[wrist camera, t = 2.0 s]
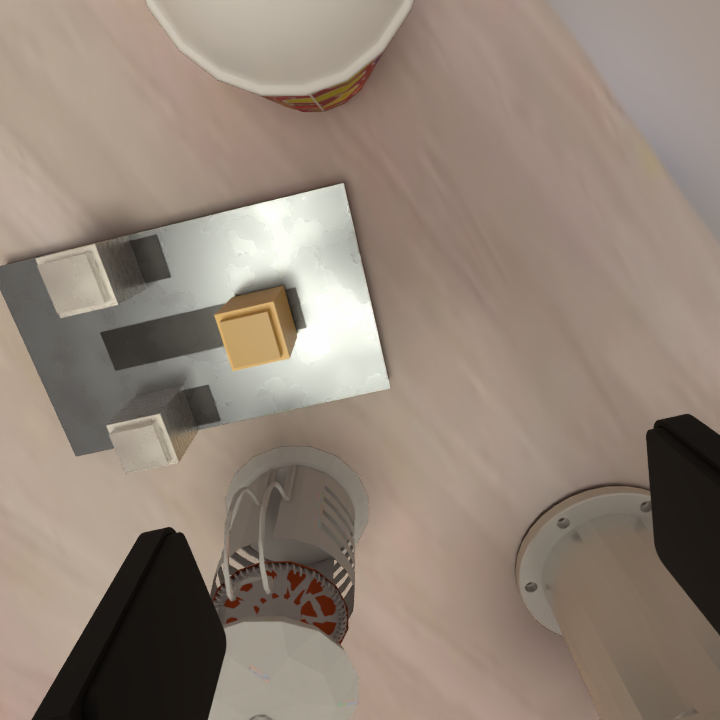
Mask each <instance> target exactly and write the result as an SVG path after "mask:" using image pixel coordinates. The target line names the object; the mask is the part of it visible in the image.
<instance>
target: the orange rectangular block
mask: <svg viewBox="0 0 720 720" xmlns="http://www.w3.org/2000/svg"><path fill="white" fill-rule="evenodd" d="M214 316H215V319H216V322H217V325H218V328H219V331H220V334H221V337H222V341H223V344H224V347H225V350H226V353H227V356H228V359H229V362H230V365H231V368H232V371H236V370H240V369H245V368H249V367H254V366H258V365H263V364H267V363H272V362H276V361H281V360H285V359H290V357H291V354H292V351H293V348H294V345H295V342H296V339H297V332H296V328H295V325H294V321H293V318H292V314H291V310H290V307H289V303H288V300H287V296H286V292H285V289H284V285H283V286H279V287H274V288H270V289H266V290H262V291H257V292H253V293H249V294H244V295H240V296H236V297H232V298H231V299H230V300H229V301H228V302H227V303H226V304H225V305H224V306H223V307H222V308H221V309H220V310H219V311H218V312H217V313H216V314H215V315H214Z"/></svg>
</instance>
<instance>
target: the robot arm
mask: <svg viewBox="0 0 720 720" xmlns="http://www.w3.org/2000/svg"><path fill="white" fill-rule="evenodd" d="M646 441H647V455H648V468H649V482H650V491H648V490H645V489H642V488H635V487H628V486H610V487H602V488H597V489H592V490H588V491H585V492H582V493H579V494H577V495H574V496H571V497H569V498H568V499H566V500H564V501H562V502H560V503H559V504H557V505H555V506H554V507H553V508H551V509H550V510H549V511H548V512H546V513H545V514H544V515H543V516H541V517H540V519H539V520H538V521H537V522H536V523H535V524H534V525H533V526H532V528H531V529H530V530H529V532H528V534H527V535H526V537H525V538H524V540H523V542H522V544H521V547H520V550H519V553H518V555H517V562H516V569H515V571H516V580H517V585H518V588H519V591H520V594H521V597H522V599H523V601H524V603H525V605H526V607H527V609H528V611H529V612H530V613H531V614H532V616H533V617H534V618H535V619H536V620H537V621H538V622H539V623H541V624H542V625H543V626H544V627H546V628H547V629H549V630H551V631H553V632H555V633H557V634H559V635H561V636H563V637H564V639H565V641H566V643H567V645H568V648H569V650H570V652H571V654H572V656H573V659H574V661H575V663H576V665H577V667H578V670H579V672H580V674H581V676H582V678H583V681H584V683H585V685H586V687H587V689H588V692H589V694H590V696H591V698H592V700H593V703H594V705H595V707H596V709H597V711H598V714H599V716H600V718H601V720H720V435H719V434H717V433H716V432H715V431H713V430H712V429H710V428H709V427H708V426H706V425H705V424H703V423H702V422H701V421H699V420H698V419H696V418H695V417H694V416H692V415H690V414H684V415H679V416H675V417H670V418H666V419H661V420H657V421H656V422H655V424H654V429H651V430H648V431H647V434H646ZM226 645H227V642H226V634H225V631H224V628H223V626H222V623H221V621H220V619H219V616H218V614H217V611H216V609H215V607H214V604H213V602H212V599H211V597H210V595H209V592H208V590H207V587H206V585H205V583H204V580H203V578H202V576H201V573H200V571H199V568H198V566H197V564H196V561H195V559H194V556H193V554H192V552H191V549H190V547H189V545H188V542H187V540H186V538H185V536H184V534H183V533H181V532H178V533H176V531H175V530H174V529H173V528H171V527H167V528H162V529H158V530H153V531H149V532H144V533H142V534H141V535H140V536H139V537H138V539H137V540H136V542H135V544H134V546H133V547H132V549H131V551H130V552H129V554H128V556H127V557H126V559H125V561H124V563H123V564H122V566H121V568H120V569H119V571H118V573H117V575H116V576H115V578H114V580H113V581H112V583H111V585H110V587H109V588H108V590H107V592H106V593H105V595H104V597H103V599H102V600H101V602H100V604H99V605H98V607H97V609H96V610H95V612H94V614H93V616H92V617H91V619H90V621H89V622H88V624H87V626H86V628H85V629H84V631H83V633H82V634H81V636H80V638H79V640H78V641H77V643H76V645H75V646H74V648H73V650H72V651H71V653H70V655H69V657H68V658H67V660H66V662H65V663H64V665H63V667H62V669H61V670H60V672H59V674H58V675H57V677H56V679H55V681H54V682H53V684H52V686H51V687H50V689H49V691H48V693H47V694H46V696H45V698H44V699H43V701H42V703H41V704H40V706H39V708H38V710H37V711H36V713H35V715H34V716H33V718H32V720H208V718H209V714H210V710H211V706H212V702H213V699H214V695H215V691H216V687H217V683H218V679H219V676H220V672H221V668H222V664H223V660H224V657H225V653H226Z"/></svg>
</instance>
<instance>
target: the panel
mask: <svg viewBox="0 0 720 720" xmlns="http://www.w3.org/2000/svg"><path fill="white" fill-rule="evenodd" d="M283 285H284V289H285V292H286V296H287V300H288V303H289V307H290V310H291V314H292V318H293V321H294V325H295V328H296V332H297V339H296V342H295V345H294V348H293V351H292V354H291V357H290V359H285V360H281V361H276V362H272V363H267V364H263V365H258V366H254V367H249V368H245V369H240V370H236V371H232V368H231V365H230V362H229V359H228V356H227V353H226V350H225V347H224V344H223V341H222V337H221V334H220V331H219V328H218V325H217V322H216V319H215V316H214V315H215V314H216V313H217V312H218V311H219V310H220V309H221V308H222V307H223V306H224V305H225V304H226V303H227V302H228V301H229V300H230V299H231V298H232V297H236V296H240V295H244V294H249V293H253V292H257V291H262V290H266V289H270V288H274V287H279V286H283ZM0 290H1V292H2V295H3V297H4V299H5V301H6V303H7V306H8V308H9V310H10V312H11V314H12V317H13V319H14V321H15V323H16V325H17V328H18V330H19V332H20V334H21V336H22V339H23V341H24V343H25V345H26V347H27V350H28V352H29V354H30V356H31V358H32V361H33V363H34V365H35V367H36V370H37V372H38V374H39V376H40V378H41V381H42V383H43V385H44V387H45V389H46V392H47V394H48V396H49V398H50V400H51V403H52V405H53V407H54V409H55V411H56V414H57V416H58V418H59V420H60V422H61V425H62V427H63V429H64V431H65V433H66V436H67V438H68V440H69V442H70V444H71V447H72V449H73V451H74V453H75V456H81V455H85V454H90V453H94V452H99V451H104V450H108V449H113V448H115V451H116V453H117V455H118V458H119V460H120V462H121V465H122V467H123V469H124V472H125V474H129V473H134V472H138V471H143V470H148V469H152V468H157V467H162V466H166V465H171V464H176V463H179V462H180V460H181V459H182V457H183V455H184V454H185V452H186V450H187V449H188V447H189V445H190V444H191V442H192V440H193V439H194V437H195V435H196V434H197V432H198V430H201V429H205V428H210V427H214V426H219V425H224V424H228V423H233V422H237V421H242V420H247V419H251V418H256V417H261V416H265V415H270V414H274V413H279V412H284V411H288V410H293V409H297V408H302V407H307V406H311V405H316V404H320V403H325V402H330V401H334V400H339V399H344V398H348V397H353V396H357V395H362V394H367V393H371V392H376V391H380V390H385V389H390V384H389V378H388V374H387V370H386V365H385V361H384V356H383V352H382V348H381V343H380V339H379V334H378V330H377V326H376V321H375V317H374V312H373V308H372V304H371V299H370V295H369V290H368V286H367V282H366V277H365V273H364V268H363V264H362V260H361V255H360V251H359V246H358V242H357V238H356V233H355V229H354V224H353V220H352V216H351V211H350V207H349V202H348V198H347V194H346V189H345V185H344V183H341V184H336V185H332V186H328V187H324V188H320V189H316V190H312V191H307V192H303V193H299V194H295V195H291V196H287V197H283V198H279V199H274V200H270V201H266V202H262V203H258V204H254V205H250V206H246V207H241V208H237V209H233V210H229V211H225V212H221V213H217V214H212V215H208V216H204V217H200V218H196V219H192V220H188V221H184V222H179V223H175V224H171V225H167V226H163V227H159V228H155V229H151V230H146V231H142V232H138V233H134V234H130V235H126V236H122V237H117V238H113V239H109V240H105V241H101V242H97V243H93V244H89V245H84V246H80V247H76V248H72V249H68V250H64V251H60V252H56V253H51V254H47V255H43V256H39V257H35V258H31V259H27V260H23V261H18V262H14V263H10V264H6V265H2V266H0Z"/></svg>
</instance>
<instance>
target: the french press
mask: <svg viewBox="0 0 720 720" xmlns="http://www.w3.org/2000/svg"><path fill="white" fill-rule="evenodd" d="M226 508H227V518H226V522H225V538H224V549H223V552H222V556H221V559H220V561H219V564H218V567H217V570H216V573H215V576H214V580H213V585H212V590H211V594H210V596H211V599H212V602H213V604H214V607H215V609H216V611H217V614H218V616H219V619H220V621H221V623H222V626H223V628H224V631H225V634H226V642H227V645H226V653H225V657H224V660H223V664H222V668H221V672H220V676H219V679H218V683H217V687H216V691H215V695H214V699H213V702H212V706H211V710H210V714H209V718H208V720H349V719H350V718H351V716H352V714H353V712H354V711H355V709H356V707H357V705H358V695H359V677H358V675H357V673H356V671H355V669H354V667H353V665H352V663H351V662H350V660H349V658H348V656H347V654H346V652H345V651H344V649H343V647H342V646H341V645H340V644H341V642H342V641H343V639H344V637H345V635H346V633H347V631H348V619H349V617H350V616H351V614H352V612H353V606H354V589H355V571H354V568H355V557H354V552H355V544H356V543H357V542H358V540H359V538H360V536H361V534H362V532H363V530H364V528H365V526H366V524H367V522H368V495H367V493H366V491H365V489H364V487H363V485H362V483H361V481H360V478H359V476H358V474H357V473H356V472H355V471H353V470H352V469H351V468H350V467H349V466H348V465H346V464H345V463H344V462H343V461H342V460H341V459H340V458H338V457H337V456H335V455H332V454H330V453H327V452H324V451H321V450H319V449H316V448H313V447H310V446H280V447H277V448H275V449H272V450H269V451H267V452H264V453H262V454H259V455H256V456H254V457H253V458H252V459H251V460H249V461H248V462H247V463H246V464H245V465H244V466H243V467H242V468H241V469H240V470H239V471H238V472H237V473H236V474H235V475H234V477H233V480H232V482H231V485H230V488H229V490H228V493H227V495H226ZM230 527H231V529H230ZM229 535H230V536H229ZM240 548H241V549H242V550H243V551H245V552H246V553H247V554H249V555H251V556H253V557H254V558H256V559H258V560H259V563H257V564H254V563H252V562H250V561H248V560H247V559H245V558H243V557H241V556H240V555H239V554H237V553H236V551H237V550H238V549H240ZM353 548H354V552H352V550H353ZM344 553H346V554H345V555H344ZM349 556H350V557H351V559H350V560H349V561H348V559H347V558H348V557H349ZM229 557H231V558H232V559H234V560H235V561H236V562H238V563H239V564H241V565H242V566H244V567H245V568H243V569H240V570H237V569H236V568H234V567H232V566H231V565H229ZM334 560H336V561H337V563H336V564H335V565H334ZM222 563H224V575H223V571H222V567H221V564H222ZM353 563H354V566H353V568H352V566H351V565H352V564H353ZM340 566H342V567H343V568H344V569H343V570H342V571H341V572H340V573H339V574H338V575H337V576H336V577H335V578H334V579H333V573H334V572H335V571H336V570H337V569H338V568H339V567H340ZM218 569H219V570H218ZM217 572H218V576H219V580H220V584H221V586H220V587H218V588H217V586H216V582H215V581H216V576H217ZM346 573H348V575H349V576H348V577H347V579H346V580H345V582H344V583H343V584H342V585H341V586H340V587H339V588H337V586H336V584H337V583H338V582H339V581H340V580H341V579H342V578H343V577H344V576H345V574H346ZM230 575H232V576H231V577H230ZM350 581H352V583H353V585H352V587H351V588H350V590H349V591H348V593H347V594H346V596H345V597H344V599H343V597H342V595H341V593H342V592H343V591H344V590H345V589H346V587H347V586H348V584H349V583H350Z"/></svg>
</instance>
